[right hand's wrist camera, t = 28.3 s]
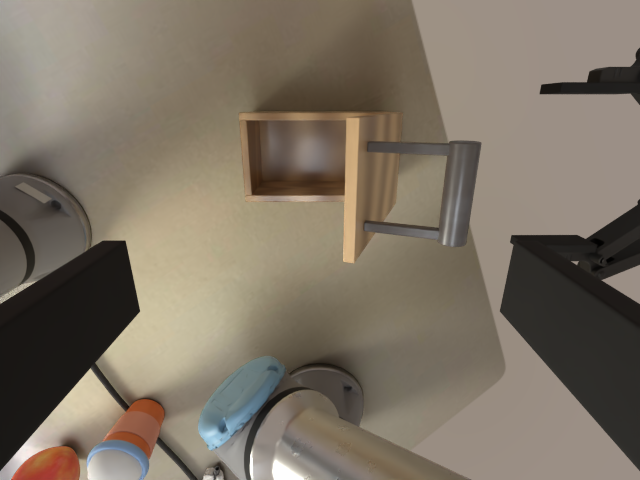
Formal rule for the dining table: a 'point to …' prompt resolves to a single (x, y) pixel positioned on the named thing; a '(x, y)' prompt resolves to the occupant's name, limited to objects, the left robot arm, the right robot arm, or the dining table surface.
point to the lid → (382, 176)
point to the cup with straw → (127, 444)
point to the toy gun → (213, 474)
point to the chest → (295, 155)
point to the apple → (50, 465)
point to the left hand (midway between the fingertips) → (532, 172)
